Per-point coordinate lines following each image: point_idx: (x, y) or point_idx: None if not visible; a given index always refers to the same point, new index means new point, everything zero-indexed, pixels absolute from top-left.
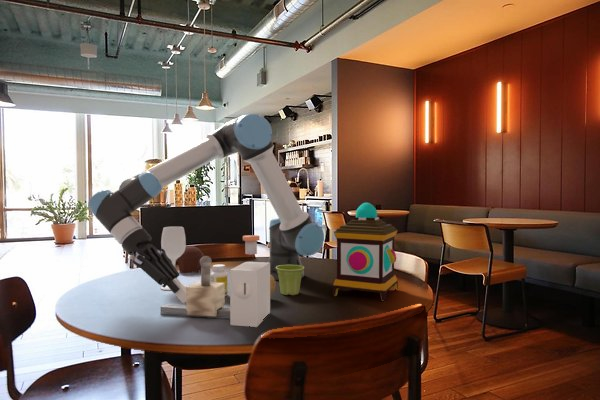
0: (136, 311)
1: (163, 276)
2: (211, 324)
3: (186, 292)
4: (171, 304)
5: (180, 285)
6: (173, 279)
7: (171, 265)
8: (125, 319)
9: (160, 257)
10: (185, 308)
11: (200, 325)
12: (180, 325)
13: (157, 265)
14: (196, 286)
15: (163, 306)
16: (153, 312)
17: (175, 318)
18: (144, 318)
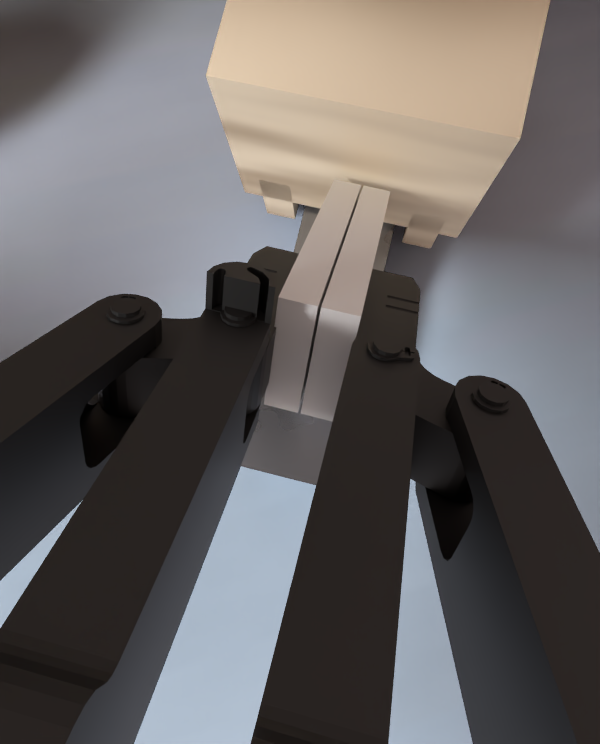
0: (246, 712)
1: (521, 428)
2: (569, 62)
3: (501, 164)
4: (260, 413)
5: (355, 251)
6: (359, 321)
7: (7, 414)
8: (461, 729)
9: (39, 710)
10: (384, 263)
11: (592, 128)
12: (596, 262)
13: (396, 634)
14: (471, 30)
15: (318, 466)
16: (280, 556)
17: (437, 339)
18: (435, 580)
